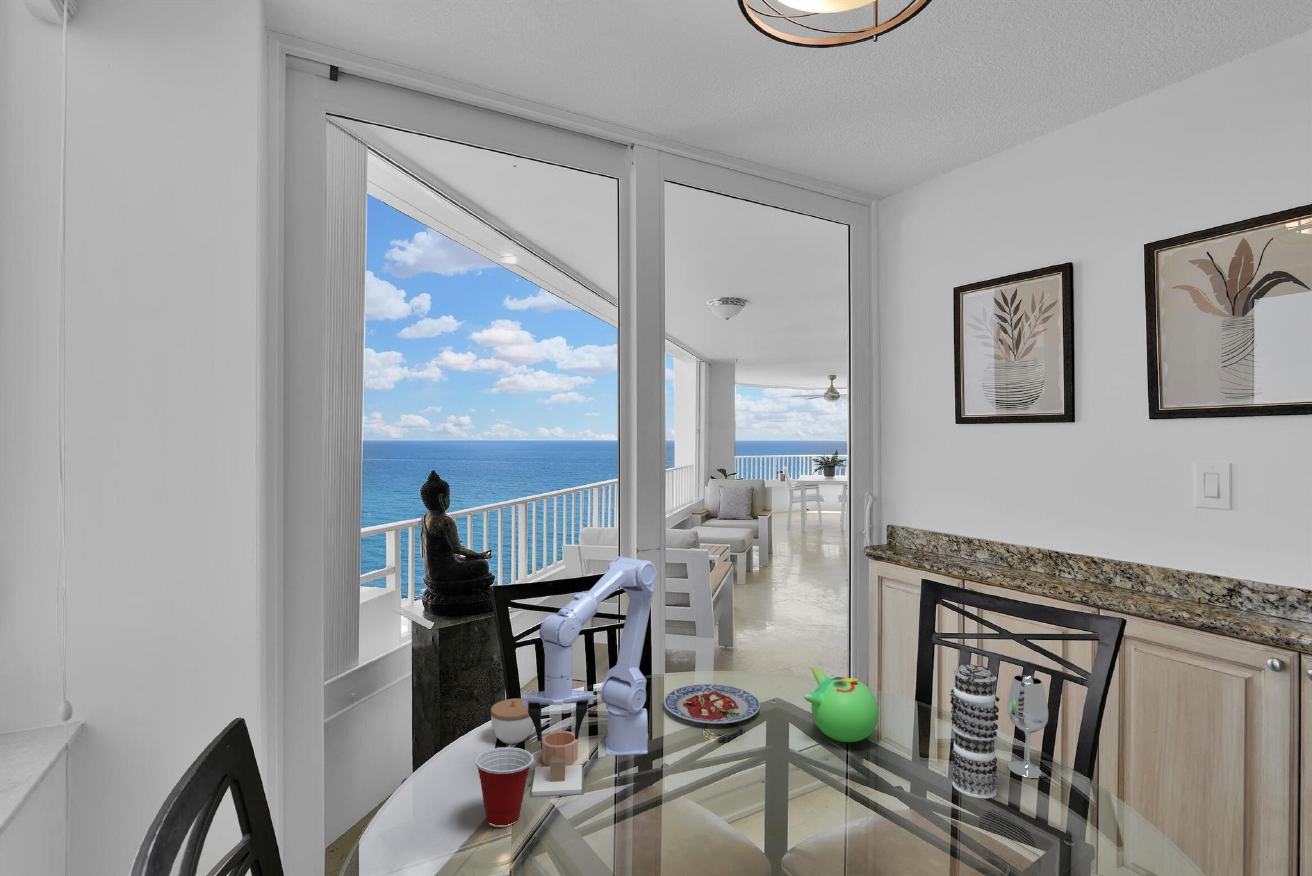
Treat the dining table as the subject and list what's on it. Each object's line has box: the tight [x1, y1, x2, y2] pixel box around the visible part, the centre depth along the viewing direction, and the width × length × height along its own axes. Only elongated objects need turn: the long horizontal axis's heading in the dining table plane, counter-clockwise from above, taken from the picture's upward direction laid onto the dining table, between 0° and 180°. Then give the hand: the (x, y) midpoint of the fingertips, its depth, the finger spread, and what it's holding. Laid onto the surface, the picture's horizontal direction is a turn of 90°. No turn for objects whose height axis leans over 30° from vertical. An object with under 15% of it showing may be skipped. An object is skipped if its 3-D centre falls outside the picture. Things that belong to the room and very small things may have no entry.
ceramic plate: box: [663, 683, 761, 725], centre depth 175 cm, size 26×26×3 cm
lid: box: [532, 755, 583, 796], centre depth 136 cm, size 10×10×5 cm
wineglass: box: [1007, 674, 1049, 779], centre depth 143 cm, size 8×8×20 cm
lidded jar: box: [490, 697, 535, 745], centre depth 157 cm, size 11×11×9 cm
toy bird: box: [803, 667, 880, 743], centre depth 159 cm, size 18×17×15 cm
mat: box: [528, 766, 585, 798], centre depth 136 cm, size 11×11×1 cm
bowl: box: [541, 730, 579, 767], centre depth 147 cm, size 8×8×4 cm
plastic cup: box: [475, 746, 534, 825], centre depth 123 cm, size 11×11×12 cm
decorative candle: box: [949, 663, 1000, 799], centre depth 136 cm, size 9×9×25 cm
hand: (558, 738), depth 136 cm, fingers open, 7 cm apart
